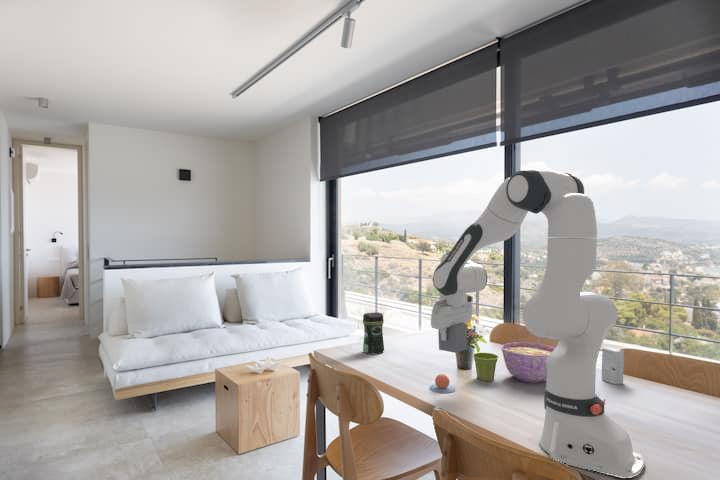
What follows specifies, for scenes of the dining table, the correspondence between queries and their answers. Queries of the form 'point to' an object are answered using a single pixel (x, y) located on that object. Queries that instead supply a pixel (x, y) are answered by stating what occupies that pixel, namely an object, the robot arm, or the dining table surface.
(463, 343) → the grey upright box
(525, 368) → the bowl of food
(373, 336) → the coffee jar
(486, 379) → the plant pot
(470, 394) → the dining table surface
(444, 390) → the circle
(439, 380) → the ball
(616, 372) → the skincare box
